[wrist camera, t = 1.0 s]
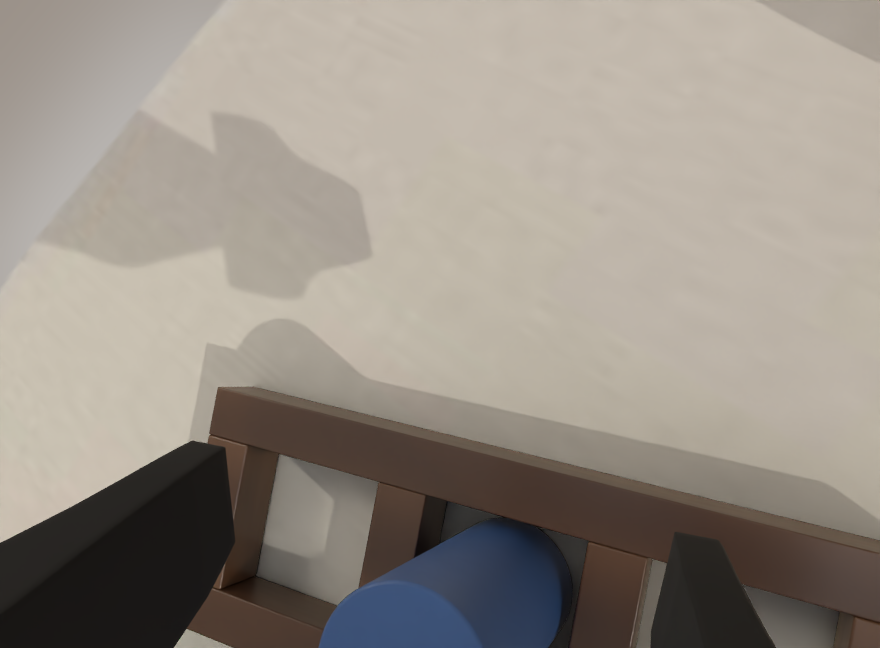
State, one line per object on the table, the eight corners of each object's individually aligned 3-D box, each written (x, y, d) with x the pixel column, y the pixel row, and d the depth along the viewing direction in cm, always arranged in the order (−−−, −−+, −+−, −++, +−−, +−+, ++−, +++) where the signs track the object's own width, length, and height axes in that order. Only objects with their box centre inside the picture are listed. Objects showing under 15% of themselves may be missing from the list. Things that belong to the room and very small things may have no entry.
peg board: (866, 861, 19) (881, 914, 17) (211, 607, 27) (172, 623, 25) (924, 551, 19) (944, 569, 17) (253, 386, 27) (217, 386, 25)
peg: (559, 670, 22) (471, 816, 15) (435, 627, 24) (299, 739, 16) (584, 537, 22) (509, 614, 15) (459, 502, 24) (334, 556, 16)
